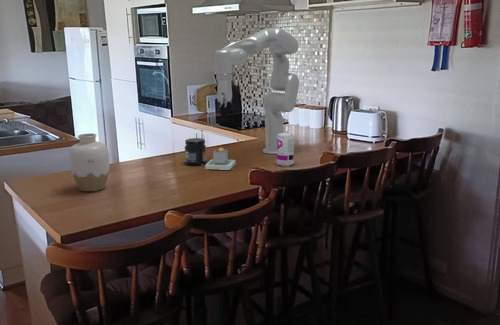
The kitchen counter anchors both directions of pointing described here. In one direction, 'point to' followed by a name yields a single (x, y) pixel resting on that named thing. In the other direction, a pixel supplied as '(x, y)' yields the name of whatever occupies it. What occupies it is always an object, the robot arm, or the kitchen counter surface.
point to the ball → (220, 150)
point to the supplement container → (195, 151)
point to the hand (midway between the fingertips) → (226, 113)
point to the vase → (89, 163)
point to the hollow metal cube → (220, 158)
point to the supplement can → (285, 149)
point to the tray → (220, 167)
